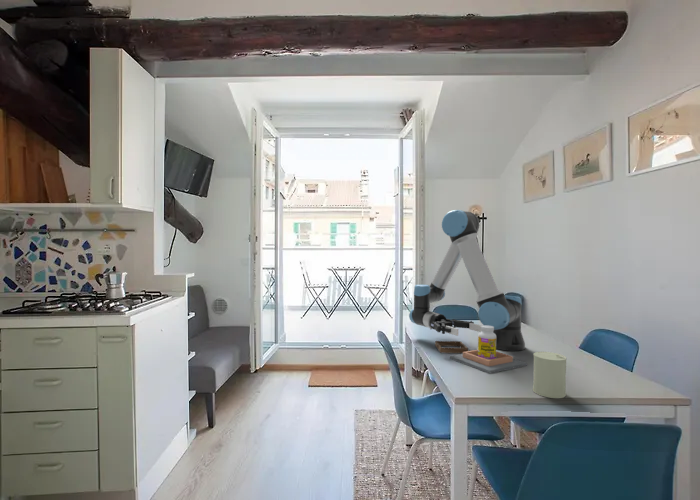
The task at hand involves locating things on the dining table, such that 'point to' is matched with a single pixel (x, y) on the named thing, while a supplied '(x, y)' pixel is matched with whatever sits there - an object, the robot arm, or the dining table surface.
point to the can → (549, 374)
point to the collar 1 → (450, 343)
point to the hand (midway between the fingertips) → (470, 330)
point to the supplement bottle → (487, 343)
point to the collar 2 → (473, 356)
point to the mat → (488, 368)
